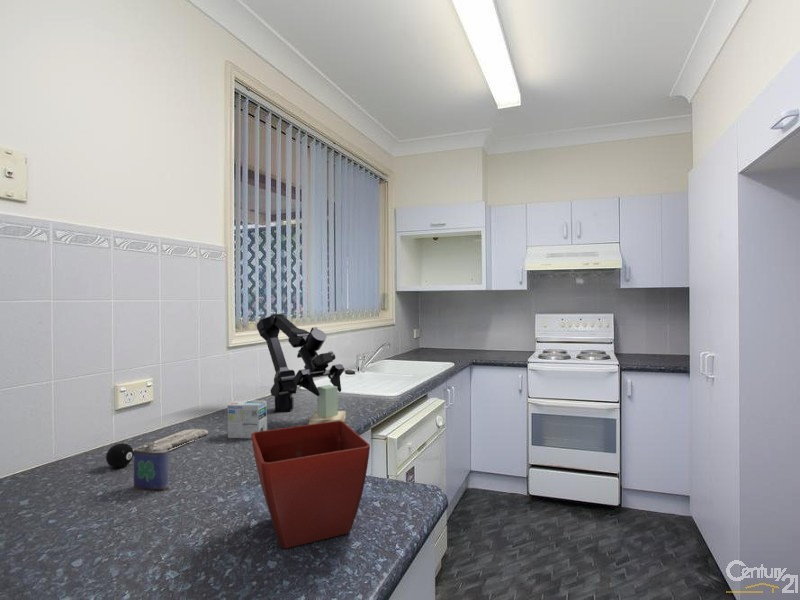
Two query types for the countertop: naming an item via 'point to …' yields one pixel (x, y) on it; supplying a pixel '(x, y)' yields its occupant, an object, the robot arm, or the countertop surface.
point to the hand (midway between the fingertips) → (329, 393)
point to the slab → (318, 419)
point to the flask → (151, 468)
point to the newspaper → (177, 439)
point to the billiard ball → (119, 455)
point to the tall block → (328, 401)
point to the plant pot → (311, 479)
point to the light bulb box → (246, 418)
